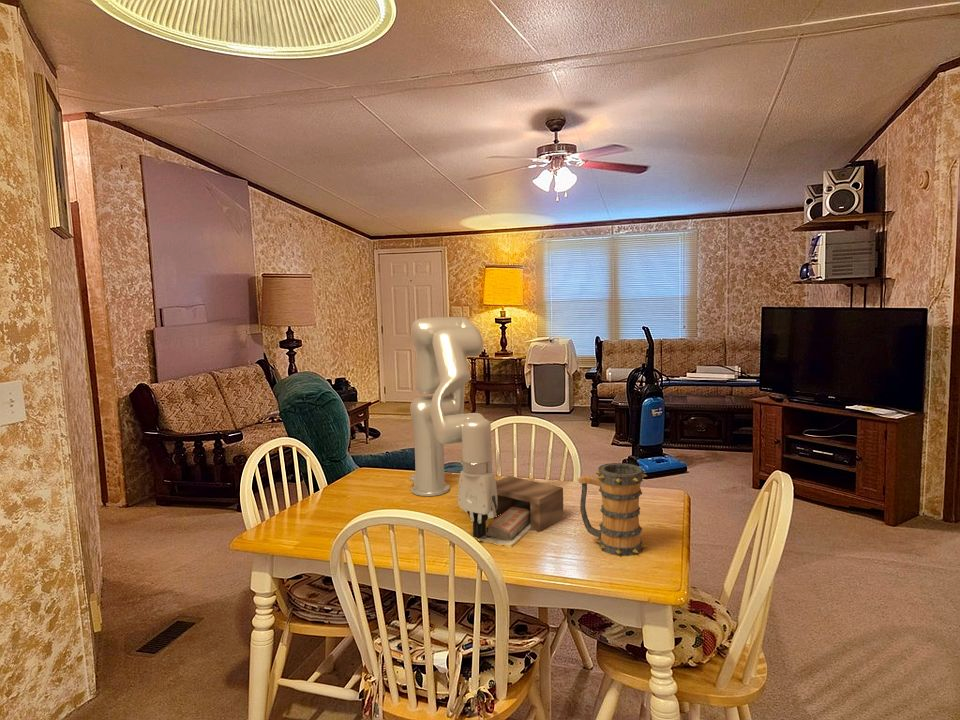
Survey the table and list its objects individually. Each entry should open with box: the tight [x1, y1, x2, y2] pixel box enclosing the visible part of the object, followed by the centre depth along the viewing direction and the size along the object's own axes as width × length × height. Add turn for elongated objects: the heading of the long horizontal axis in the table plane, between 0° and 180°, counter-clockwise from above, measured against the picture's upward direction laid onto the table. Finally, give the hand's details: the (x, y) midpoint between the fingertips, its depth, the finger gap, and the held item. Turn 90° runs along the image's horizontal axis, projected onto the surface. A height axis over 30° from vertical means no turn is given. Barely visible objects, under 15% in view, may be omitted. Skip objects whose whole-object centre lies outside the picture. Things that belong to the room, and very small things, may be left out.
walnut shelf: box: [495, 475, 564, 532], centre depth 167 cm, size 19×12×9 cm, turn 51°
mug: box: [576, 462, 648, 557], centre depth 146 cm, size 13×17×20 cm
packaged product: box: [476, 507, 531, 547], centre depth 158 cm, size 18×5×10 cm
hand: (479, 536), depth 152 cm, fingers closed
